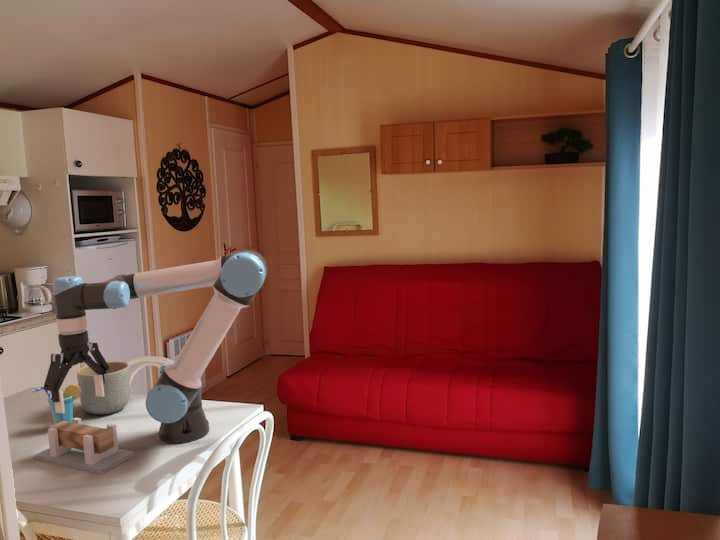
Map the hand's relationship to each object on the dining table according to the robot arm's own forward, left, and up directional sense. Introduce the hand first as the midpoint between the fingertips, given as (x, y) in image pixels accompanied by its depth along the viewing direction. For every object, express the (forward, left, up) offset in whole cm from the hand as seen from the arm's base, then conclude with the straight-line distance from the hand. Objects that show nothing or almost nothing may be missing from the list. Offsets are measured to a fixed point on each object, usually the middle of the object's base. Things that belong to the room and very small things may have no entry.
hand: (81, 404), depth 167 cm
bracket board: (0, 0, -16) cm, 16 cm away
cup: (+26, -13, -16) cm, 33 cm away
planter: (+25, -31, -16) cm, 43 cm away
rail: (+1, 0, -12) cm, 12 cm away
